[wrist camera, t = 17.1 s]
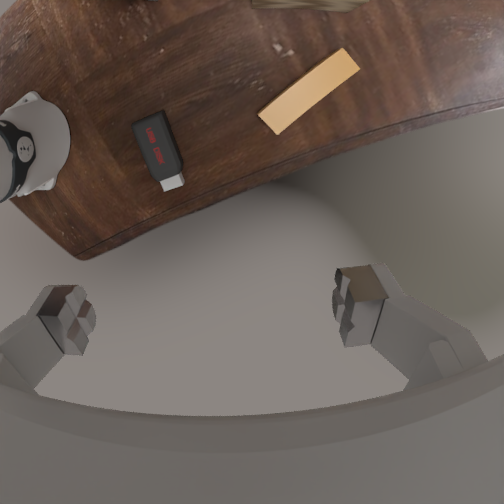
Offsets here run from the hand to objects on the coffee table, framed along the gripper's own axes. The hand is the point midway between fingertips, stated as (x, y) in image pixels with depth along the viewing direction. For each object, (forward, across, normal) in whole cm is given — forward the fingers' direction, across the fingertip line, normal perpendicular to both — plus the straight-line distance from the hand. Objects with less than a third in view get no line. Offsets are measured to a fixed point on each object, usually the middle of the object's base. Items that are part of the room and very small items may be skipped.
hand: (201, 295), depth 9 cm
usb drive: (+38, +11, +3) cm, 40 cm away
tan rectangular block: (+38, -11, -5) cm, 39 cm away
